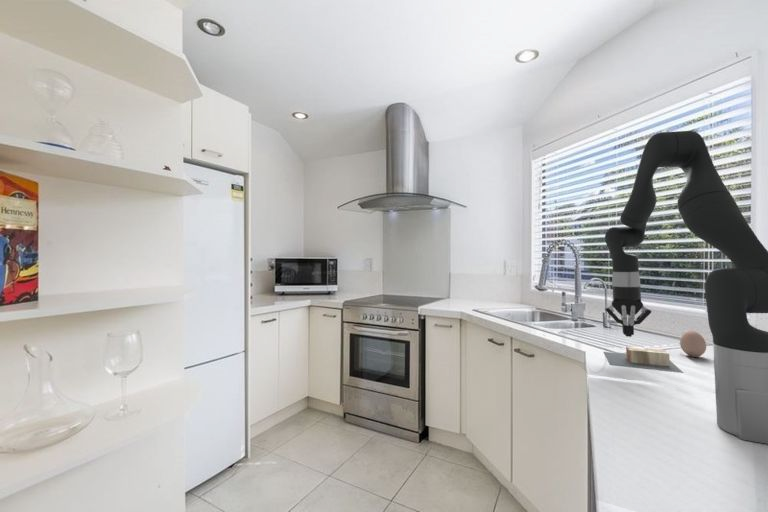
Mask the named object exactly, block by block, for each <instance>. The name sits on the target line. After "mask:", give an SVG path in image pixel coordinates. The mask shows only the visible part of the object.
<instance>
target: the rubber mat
mask: <svg viewBox="0 0 768 512" xmlns="http://www.w3.org/2000/svg"><path fill="white" fill-rule="evenodd" d="M603 354H604V356H605V358H606V360H607V362H608V364H609V365H610V366H616V367H624V368H633V369H634V368H636V369H644V370H653V371H654V370H655V371H660V372H661V371H662V372H663V371H664V372H670V373H671V372H673V373H682V374H683V373H684V372H683V371H682V370H681V369H680V368H679V367H678V366H677V365H676V364H675V363H674V362H673V361H671V360H670V366H662V365H652V364H642V363H633V362H629V361H628V359H627V355H626V353H621V352H619V353H618V352H611V351H610V352H609V351H603Z"/></svg>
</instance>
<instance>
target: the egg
mask: <svg viewBox="0 0 768 512" xmlns="http://www.w3.org/2000/svg"><path fill="white" fill-rule="evenodd" d="M679 345H680V348H681V350H682V352H683V353H685V354H686V355H687V356H689V357H693V358H696V357H701V356H703V355H704V354H705V353H706V351H707V343H706V340H705V338H704V337H703V335H702V334H701V333H700V332H698V331H696V330H691V329H690V330H686V331H685V332H684V333H683V334H682V335H681V337H680V340H679Z"/></svg>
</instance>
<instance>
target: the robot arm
mask: <svg viewBox="0 0 768 512" xmlns="http://www.w3.org/2000/svg"><path fill="white" fill-rule="evenodd" d="M658 168H680V170H682V172H683V173H684V176H685V179H686V182H685V183H684V186H683V187H682V190H681V191H680V194H679V196H678V198H677V205H676V207H677V209H678V212H679V214H680V216H681V219H682V221H683V223H684V225H685V226H686V228H687V229H688V230H689V231H690V232H691V233H692V234H693V235H695V236H696V237H698V238H699V239H700V240H702V241H704V242H705V243H706V244H709V245H710V246H712V247H713V248H714V249H716V250H718V251H719V252H721V253H722V254H723V255H725V256H726V257H727V259H729V261H731V262H732V264H733V266H734V267H721V268H715V269H713V270H711V271H710V272H709V274H708V275H707V276H706V279H705V283H704V296H705V304H706V309H707V310H706V311H707V312H706V313H707V320H708V327H709V330H710V332H711V335H712V345H713V346H712V347H713V348H712V349H713V365H714V366H713V367H714V368H713V369H714V389H715V392H714V393H715V407H716V409H715V411H716V425H717V426H718V427H719V428H720V429H722V430H723V431H724V432H727V433H728V434H732V435H733V436H736V437H737V438H739V440H744V441H749V442H755V443H762V444H767V445H768V331H766V330H762V329H758V328H757V327H754V326H753V325H751V324H750V322H749V319H748V316H747V315H748V314H768V250H767V248H766V247H765V246H764V245H763V244H762V242H761V241H760V240H759V238H758V236H757V235H756V234H755V232H754V230H753V229H752V228H751V226H750V225H749V223H748V221H747V219H746V218H745V217H744V215H743V213H742V212H741V210H740V207H739V205H738V204H737V202H736V200H735V199H734V196H732V194H731V192H730V191H729V189H728V188H727V186H726V185H725V184H724V182H723V179H722V178H721V177H720V173H718V171H717V168H716V167H715V164H714V161H713V160H712V157H711V155H710V153H709V150H708V147H707V144H706V143H705V141H704V138H703V137H702V136H701V134H700V133H698V132H697V131H693V130H680V131H664V132H657V133H655V134H653V135H651V137H650V138H649V139H648V140H647V143H646V144H645V147H644V149H643V151H642V154H641V157H640V161H639V165H638V166H637V171H636V174H635V179H634V183H633V187H632V190H631V193H630V195H629V198H628V200H627V203H626V204H625V206H624V209H623V211H622V213H621V215H620V219H619V221H620V223H621V224H622V225H624V226H612V227H610V228H609V229H607V230H606V232H605V234H604V240H605V244H606V247H607V249H608V251H609V254H610V258H611V261H612V277H611V278H612V280H611V285H612V302H611V305H609V306H606V307H605V308H604V310H605V311H606V313H607V314H609V316H610V317H611V318H612V319H613V320H614V321H615V322H616V323H618V324H620V325H621V327H622V334H623V335H624V336H625V337H627V338H628V337H630V338H631V337H632V336H634V334H635V329H634V328H635V327H634V326H636V325H641V323H643V321H645V320H646V319H647V318H648V317H649V316H650V314H652V310H651V309H649V308H647V307H645V306H644V303H643V302H642V294H641V293H642V292H641V278H640V269H639V258H638V256H637V254H632V253H627V252H625V251H624V249H623V248H634V247H638V246H640V245H641V244H642V243H643V242H644V239H645V234H646V229H647V221H649V218H650V217H651V215H652V214H653V212H654V210H655V208H656V205H657V194H656V190H655V187H654V183H653V179H654V176H655V173H656V172H657V170H658ZM615 311H616V312H617V313H618V314H620V318H621V319H620V318H619V317H618V316H617V315H616V314H615V313H614V312H615ZM639 312H640V314H639V315H637V314H638V313H639ZM636 315H637V317H636Z"/></svg>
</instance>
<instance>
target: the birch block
mask: <svg viewBox="0 0 768 512" xmlns="http://www.w3.org/2000/svg"><path fill="white" fill-rule="evenodd" d="M625 349H626V351H625V354H626V355H627V359H628V361H629V362H633V363H642V364H652V365H662V366H670V361H671V360H670V353H669V352H668V351H667V350H665V349H662V348H652V347H637V346H625Z"/></svg>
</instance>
